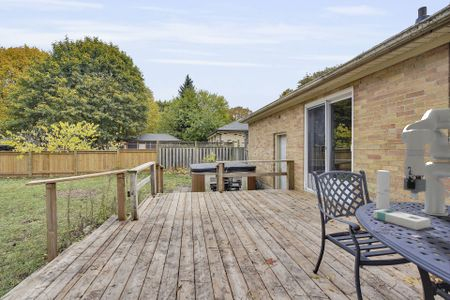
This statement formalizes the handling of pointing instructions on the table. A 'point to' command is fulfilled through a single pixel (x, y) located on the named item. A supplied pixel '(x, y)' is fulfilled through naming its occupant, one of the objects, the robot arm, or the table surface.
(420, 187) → the grey rectangular block
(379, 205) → the cylindrical container
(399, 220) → the docking board
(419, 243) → the table surface
